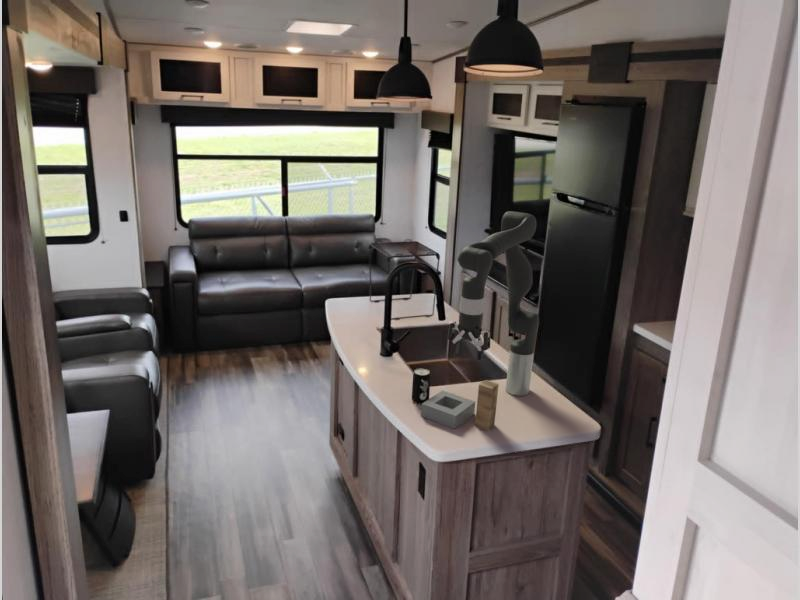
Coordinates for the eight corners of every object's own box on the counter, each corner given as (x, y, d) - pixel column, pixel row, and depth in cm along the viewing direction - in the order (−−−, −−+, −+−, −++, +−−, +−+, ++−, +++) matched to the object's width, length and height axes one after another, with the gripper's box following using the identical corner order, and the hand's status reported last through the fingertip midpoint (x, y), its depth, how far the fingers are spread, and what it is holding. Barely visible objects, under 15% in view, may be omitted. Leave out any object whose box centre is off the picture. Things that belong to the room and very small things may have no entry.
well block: (441, 402, 236) (442, 390, 234) (474, 413, 228) (475, 401, 226) (421, 416, 225) (421, 403, 223) (454, 428, 217) (455, 415, 215)
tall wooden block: (481, 420, 224) (485, 379, 219) (494, 424, 221) (498, 383, 216) (475, 425, 220) (478, 384, 215) (487, 430, 217) (491, 388, 212)
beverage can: (414, 405, 232) (416, 375, 229) (409, 397, 238) (411, 368, 235) (431, 403, 234) (433, 374, 230) (425, 396, 240) (427, 367, 236)
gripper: (497, 312, 198) (492, 359, 203) (457, 302, 205) (454, 347, 210) (485, 318, 192) (481, 366, 197) (446, 307, 199) (442, 354, 204)
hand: (467, 356), depth 204 cm, fingers open, 8 cm apart
